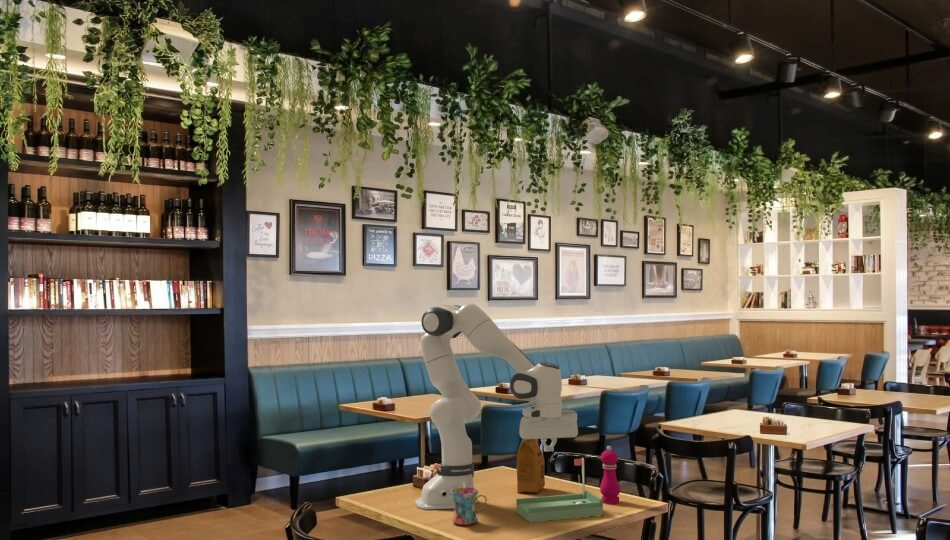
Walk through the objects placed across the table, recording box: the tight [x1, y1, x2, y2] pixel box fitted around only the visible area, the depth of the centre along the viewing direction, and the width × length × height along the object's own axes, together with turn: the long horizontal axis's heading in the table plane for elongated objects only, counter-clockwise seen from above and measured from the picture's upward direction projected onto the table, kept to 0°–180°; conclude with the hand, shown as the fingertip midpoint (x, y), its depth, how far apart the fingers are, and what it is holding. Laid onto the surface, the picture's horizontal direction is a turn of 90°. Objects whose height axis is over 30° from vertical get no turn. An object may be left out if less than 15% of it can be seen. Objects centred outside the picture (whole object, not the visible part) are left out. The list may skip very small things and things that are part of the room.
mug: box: [450, 487, 487, 526], centre depth 269 cm, size 12×9×11 cm
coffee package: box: [516, 439, 546, 494], centre depth 313 cm, size 10×12×22 cm
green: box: [516, 457, 604, 523], centre depth 278 cm, size 26×14×17 cm, turn 105°
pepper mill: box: [599, 445, 621, 505], centre depth 293 cm, size 7×7×20 cm
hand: (548, 451), depth 278 cm, fingers closed
